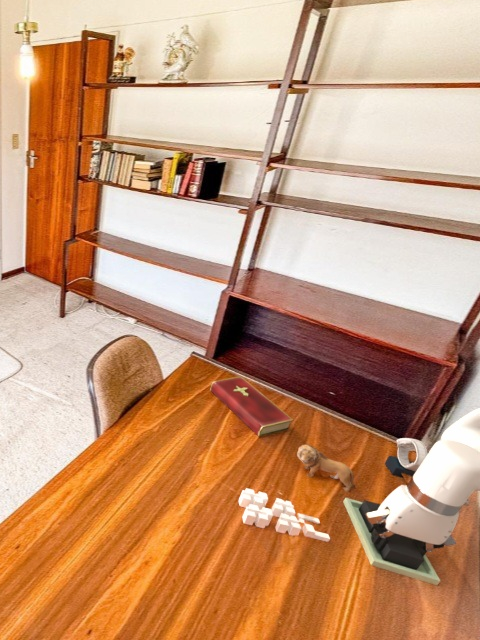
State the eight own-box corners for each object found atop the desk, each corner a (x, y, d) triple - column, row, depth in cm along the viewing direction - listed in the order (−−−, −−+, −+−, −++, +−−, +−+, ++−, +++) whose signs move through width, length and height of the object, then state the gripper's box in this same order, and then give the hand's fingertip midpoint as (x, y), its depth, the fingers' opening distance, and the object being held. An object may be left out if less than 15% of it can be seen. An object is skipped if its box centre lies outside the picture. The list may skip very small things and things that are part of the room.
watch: (405, 464, 110) (424, 435, 105) (419, 488, 103) (440, 458, 98) (381, 458, 112) (398, 429, 107) (393, 481, 105) (412, 451, 100)
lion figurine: (291, 476, 105) (303, 452, 101) (287, 461, 109) (298, 437, 105) (357, 496, 100) (372, 472, 96) (350, 479, 105) (364, 455, 101)
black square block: (387, 517, 95) (394, 507, 93) (400, 541, 89) (407, 531, 88) (358, 509, 96) (364, 499, 95) (369, 532, 91) (375, 522, 90)
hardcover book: (258, 437, 117) (262, 426, 115) (209, 390, 135) (212, 380, 133) (289, 429, 120) (293, 419, 118) (237, 385, 138) (241, 375, 136)
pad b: (402, 542, 89) (409, 533, 87) (416, 570, 84) (424, 560, 82) (370, 533, 90) (377, 524, 89) (383, 560, 85) (390, 550, 84)
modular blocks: (243, 523, 92) (248, 512, 91) (237, 497, 98) (241, 486, 97) (339, 548, 88) (346, 537, 86) (326, 519, 94) (332, 508, 92)
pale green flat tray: (398, 518, 95) (401, 512, 94) (436, 586, 82) (440, 581, 81) (342, 502, 98) (345, 497, 97) (370, 566, 85) (373, 560, 84)
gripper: (474, 492, 80) (431, 547, 88) (374, 467, 85) (341, 521, 92) (501, 527, 74) (452, 583, 81) (391, 497, 78) (354, 553, 86)
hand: (394, 549), depth 87 cm, fingers closed on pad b, 6 cm apart
